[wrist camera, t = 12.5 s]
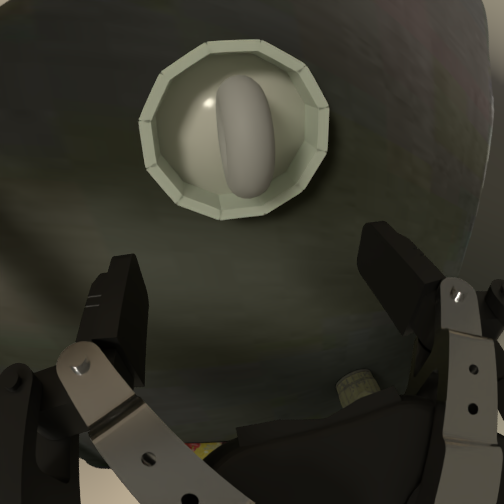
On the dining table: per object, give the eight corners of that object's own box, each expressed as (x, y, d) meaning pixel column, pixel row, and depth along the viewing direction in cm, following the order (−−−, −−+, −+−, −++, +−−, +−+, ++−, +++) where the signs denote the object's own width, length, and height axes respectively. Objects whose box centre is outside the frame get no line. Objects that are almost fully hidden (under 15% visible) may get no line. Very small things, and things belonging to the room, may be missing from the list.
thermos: (372, 359, 57) (438, 504, 29) (370, 383, 64) (424, 507, 36) (333, 375, 57) (391, 527, 29) (336, 397, 64) (384, 525, 36)
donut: (256, 171, 30) (282, 218, 22) (221, 176, 29) (233, 225, 21) (249, 72, 24) (277, 74, 16) (211, 76, 24) (219, 78, 16)
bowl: (161, 207, 31) (157, 228, 27) (140, 54, 22) (131, 52, 18) (308, 191, 33) (323, 209, 29) (311, 45, 24) (330, 43, 20)
